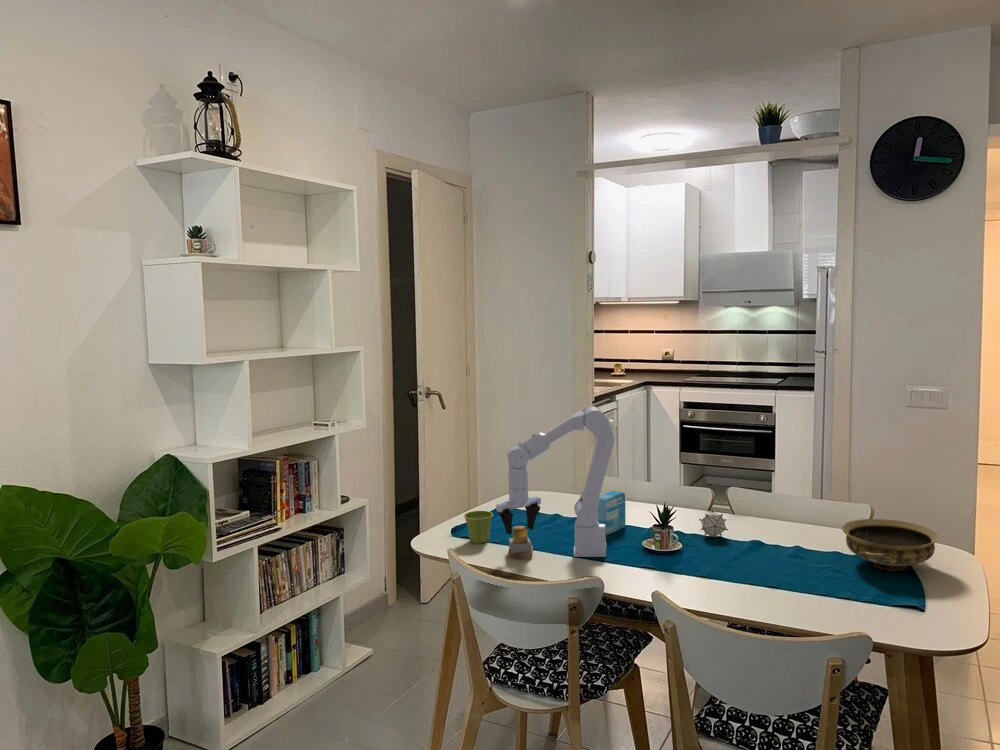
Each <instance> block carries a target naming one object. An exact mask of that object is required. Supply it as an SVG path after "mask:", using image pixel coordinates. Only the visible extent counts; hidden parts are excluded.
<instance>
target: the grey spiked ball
mask: <svg viewBox="0 0 1000 750" xmlns="http://www.w3.org/2000/svg"><path fill="white" fill-rule="evenodd" d="M704 515H705V516H704V517H703V518H702V519H701V518H699V519H698V521H701V522H700V523H701V527H702V528H700V531H703V532H704V534H703V535H704V536H706V535H708V536H711V537H712V538H713V539H714V540H716V538H717V536H722V533H723V532H725V531H729V529H728V528H727V527H726V521H727V519H726V518H725V519H724V518H723V515H724V514H723V513H721V514H718V513H715V512H714V510H713V509H711V512H710V513H708V514H707V513H705V514H704Z"/></svg>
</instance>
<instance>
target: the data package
mask: <svg viewBox="0 0 1000 750" xmlns="http://www.w3.org/2000/svg"><path fill="white" fill-rule="evenodd" d="M598 515H599V518H598V522H599V524H605V533H606V536H608V535H610V534H613V533H614V532H617V531H619V530H621V529H623V528H624V527H625V526H626V494H625V492H622V491H616V490H610V491H608V492H605V493H601V494H600V495H599V506H598Z"/></svg>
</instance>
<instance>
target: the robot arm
mask: <svg viewBox="0 0 1000 750" xmlns="http://www.w3.org/2000/svg"><path fill="white" fill-rule="evenodd" d="M585 428H586V429H587V430H588V431H590V432H591V433H592V434H593V435H594V437H595V438H596V444H595V447H594V452H593V453H592V454H593V455H592V458H591V461H590V464H589V465H590V466H589V469H588V473H587V477H586V481H585V482H584V483H585V484H584V487H583V491H582V492H581V493H580V497H579V499H578V500H577V501H576V502H575V504H574V507H573V510H574V513H575V516H576V517H577V518H576V520H575V521H574V546H573V557H576V558H578V557H579V558H581V557H583V558H585V557H586V558H587V557H588V558H592V557H593V558H599V557H600V558H605V557H607V548H608V546H607V544H608V543H607V542H606V541H607V539H606V538H607V535H606V533H605V524H599V522H598V518H599V515H598V506H599V495H601V490H602V488H603V484H604V481H605V476H606V473H607V468H608V466H609V462H610V458H611V455H612V451H613V448H614V443H615V436H614V433H613V432H614V431H613V429H612V426H611V423H610V421H609V419H608V418H607V416H606V415H605V414H604V413H603V411H602V410H601V409H600V408H599V407H597V406H594V405H588V406H586V407H584V409H583V410H582V409H580V410H578V411H577V412H575V413H573V414H572V415H570V416H569V417H567V418H566V419H564V420H563V421H561V422H560V423H558V424H557V425H556V426H554V427H552V428H551V429H550V430H548V431H546V432H545V433H544V432H541V431H540V432H537V433H536V432H533V433H532V434H531V436H530V437H528V439H526V440H525V441H523V442H521V441H520V442H518V443H517V446H516V445H514V446H512V447H511V448H509V450H508V451H507V455H506V456H507V460H508V473H507V474H508V475H507V476H508V500H507V501H504V502H502V503H498V504H496V505H495V506H496V507H495V508H496V512H497V514H498V515H499V517H500V518H501V521H502V523H503V526H504V529H505V533H506V534H507V535H513V527H512V526H513V524H512V523H513V517H514V513H513V512H511V510H515V509H520V508H525V513H526V525H527V526H526V527H527V529H528V530H531V531H532V530H534V526H535V521H536V519H537V516H538V513H539V512H540V510H541V506H540V505H541V504H542V498H541V497H539V496H534V497H532V496H530V497H529V478H528V476H529V475H528V472H529V471H528V470H527V465H528V462H529V461H531V460H533V459H535V458H537V457H538V456H540V455H541V454H543V453H544V452H546V451H548V450H549V449H550V448H551V444H552V443H553V442H555V441H556V440H558V439H560V438H562V437H564V436H565V435H568V434H569V433H571V432H572V431H575V430H576V431H585Z"/></svg>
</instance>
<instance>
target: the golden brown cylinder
mask: <svg viewBox="0 0 1000 750" xmlns="http://www.w3.org/2000/svg"><path fill="white" fill-rule="evenodd" d="M528 535H529V534H528V527H527V526H525V525H515V526H513V527H512V538H513V542H514V543H526V542H527V541H528V538H529V537H528Z"/></svg>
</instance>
